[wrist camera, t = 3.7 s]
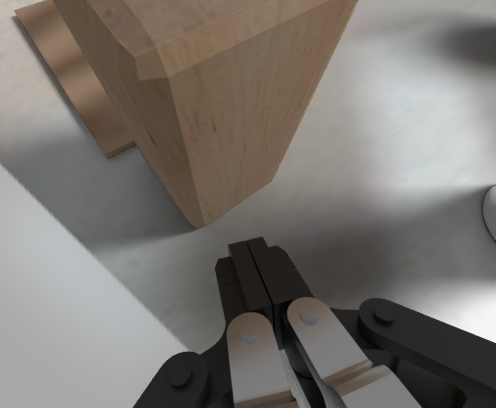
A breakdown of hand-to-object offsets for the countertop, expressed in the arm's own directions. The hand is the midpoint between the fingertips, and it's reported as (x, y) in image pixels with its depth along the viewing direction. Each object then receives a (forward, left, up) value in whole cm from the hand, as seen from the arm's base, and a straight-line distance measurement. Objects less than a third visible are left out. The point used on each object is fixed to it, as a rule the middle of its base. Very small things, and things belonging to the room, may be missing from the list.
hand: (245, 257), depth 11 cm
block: (+10, -4, -14) cm, 18 cm away
